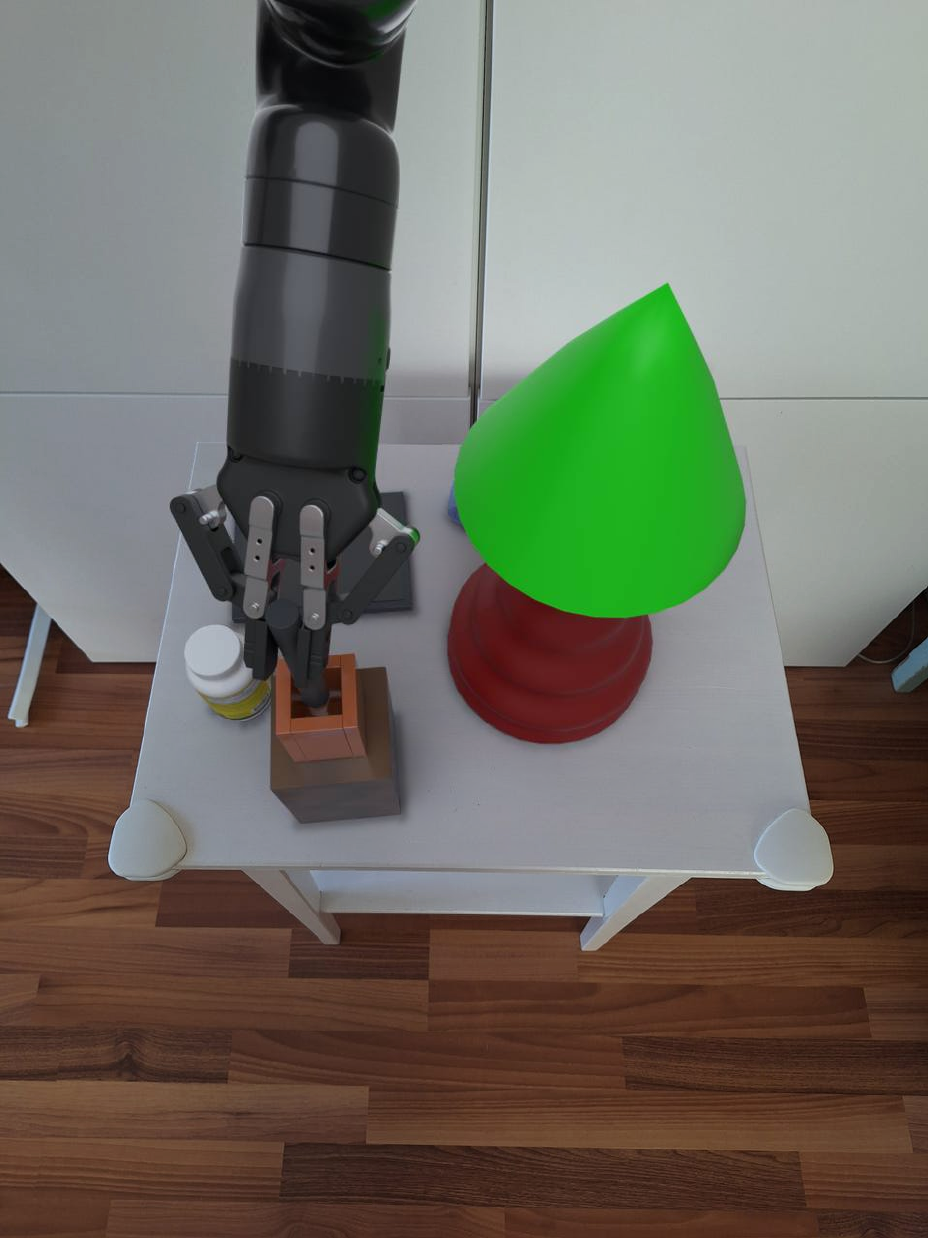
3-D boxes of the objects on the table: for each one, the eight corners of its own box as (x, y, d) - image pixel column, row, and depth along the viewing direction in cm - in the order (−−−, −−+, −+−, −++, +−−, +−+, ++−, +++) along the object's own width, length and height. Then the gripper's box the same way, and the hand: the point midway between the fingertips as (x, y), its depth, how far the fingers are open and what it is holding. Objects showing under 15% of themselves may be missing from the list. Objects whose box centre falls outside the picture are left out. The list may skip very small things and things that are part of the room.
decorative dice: (454, 493, 85) (455, 471, 81) (490, 499, 84) (492, 478, 81) (447, 523, 83) (447, 502, 79) (483, 529, 83) (485, 509, 79)
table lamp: (439, 569, 80) (443, 152, 40) (624, 558, 82) (810, 142, 41) (455, 753, 72) (481, 464, 31) (660, 737, 74) (940, 439, 33)
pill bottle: (213, 663, 75) (180, 615, 65) (277, 663, 75) (253, 615, 65) (205, 724, 73) (168, 683, 63) (271, 724, 73) (245, 683, 63)
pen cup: (294, 763, 57) (275, 734, 50) (294, 695, 59) (275, 658, 53) (367, 757, 58) (357, 727, 51) (363, 689, 60) (354, 652, 53)
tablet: (233, 623, 77) (231, 619, 76) (237, 506, 83) (235, 501, 82) (412, 610, 78) (411, 605, 77) (403, 496, 84) (403, 490, 83)
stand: (300, 824, 69) (269, 789, 56) (299, 728, 73) (270, 675, 60) (400, 814, 70) (392, 778, 57) (394, 720, 73) (385, 666, 61)
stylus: (305, 714, 53) (264, 629, 40) (305, 689, 53) (264, 599, 41) (331, 711, 53) (299, 627, 40) (331, 687, 54) (298, 596, 41)
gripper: (136, 336, 34) (135, 684, 40) (436, 386, 34) (390, 732, 40) (206, 339, 41) (196, 634, 47) (456, 380, 41) (414, 674, 47)
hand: (285, 677), depth 43 cm, fingers closed on stylus, 2 cm apart
